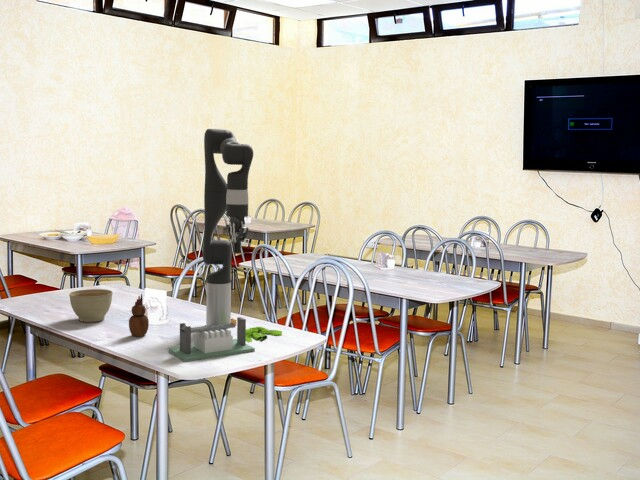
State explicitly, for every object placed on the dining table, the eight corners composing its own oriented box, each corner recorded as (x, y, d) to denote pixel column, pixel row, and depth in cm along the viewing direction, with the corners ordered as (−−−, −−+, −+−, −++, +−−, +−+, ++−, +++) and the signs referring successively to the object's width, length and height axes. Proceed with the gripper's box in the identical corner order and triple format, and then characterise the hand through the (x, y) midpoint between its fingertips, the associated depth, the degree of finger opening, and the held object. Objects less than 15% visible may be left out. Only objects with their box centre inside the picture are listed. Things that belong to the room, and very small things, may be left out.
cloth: (257, 327, 274) (257, 321, 273) (302, 337, 261) (302, 330, 261) (220, 337, 257) (220, 331, 257) (266, 348, 244) (267, 341, 244)
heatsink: (168, 350, 236) (168, 321, 235) (236, 341, 250) (236, 313, 249) (184, 361, 225) (184, 330, 223) (254, 351, 238) (255, 322, 237)
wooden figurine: (142, 332, 259) (142, 292, 258) (151, 335, 255) (151, 294, 254) (126, 335, 255) (125, 294, 253) (134, 338, 251) (134, 297, 249)
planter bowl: (117, 315, 285) (117, 288, 284) (106, 325, 269) (106, 296, 268) (77, 314, 285) (76, 288, 284) (63, 324, 269) (63, 296, 268)
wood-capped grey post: (184, 333, 229) (184, 326, 229) (180, 331, 232) (180, 324, 232) (236, 327, 240) (236, 320, 239) (232, 325, 242) (232, 318, 242)
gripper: (256, 203, 238) (255, 254, 240) (238, 201, 249) (237, 249, 251) (236, 204, 234) (235, 256, 236) (218, 201, 245) (218, 251, 247)
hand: (236, 252), depth 244 cm, fingers closed
